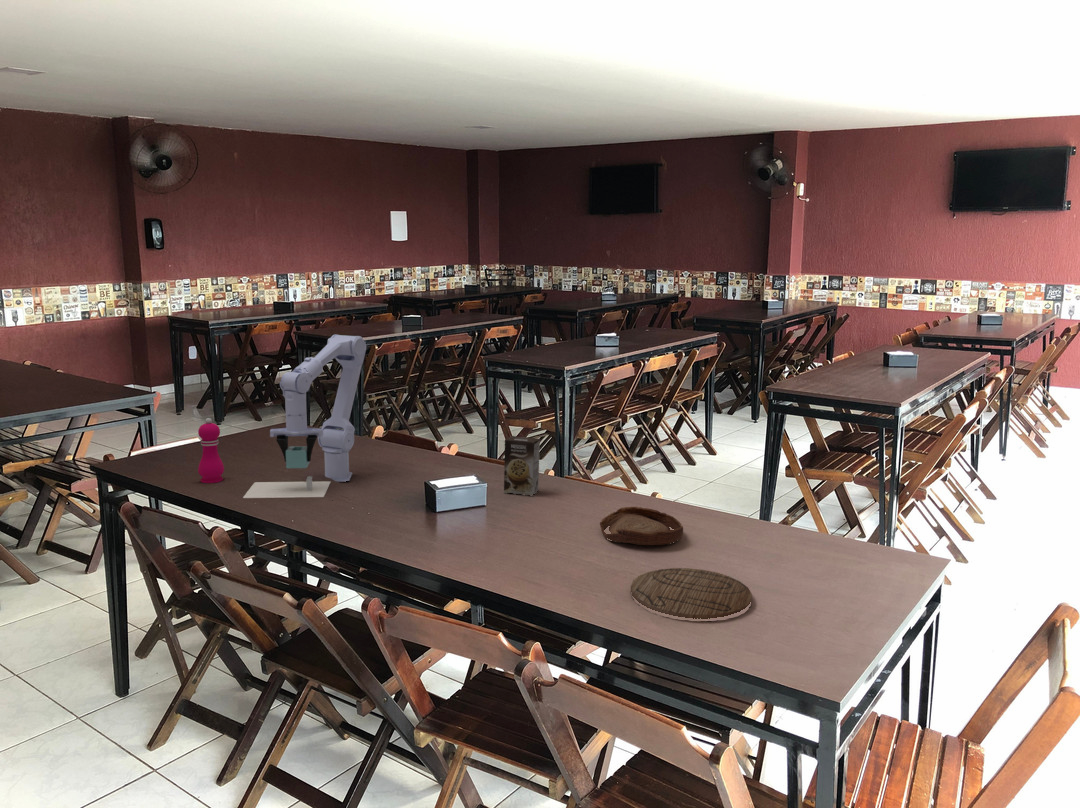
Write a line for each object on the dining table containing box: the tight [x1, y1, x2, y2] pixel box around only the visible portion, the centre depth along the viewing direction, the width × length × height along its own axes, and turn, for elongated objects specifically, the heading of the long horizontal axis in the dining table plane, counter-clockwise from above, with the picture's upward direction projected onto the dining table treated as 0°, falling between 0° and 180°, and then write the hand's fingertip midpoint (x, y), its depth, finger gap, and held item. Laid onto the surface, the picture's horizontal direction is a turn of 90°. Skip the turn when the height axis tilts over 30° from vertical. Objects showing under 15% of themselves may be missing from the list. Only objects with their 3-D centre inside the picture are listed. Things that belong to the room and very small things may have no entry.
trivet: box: [630, 567, 753, 619], centre depth 186 cm, size 25×25×2 cm
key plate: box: [242, 475, 332, 499], centre depth 255 cm, size 16×22×5 cm
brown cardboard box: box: [503, 435, 541, 496], centre depth 259 cm, size 9×6×16 cm
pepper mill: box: [197, 417, 225, 484], centre depth 262 cm, size 7×7×20 cm
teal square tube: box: [285, 445, 310, 469], centre depth 254 cm, size 6×6×5 cm
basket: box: [599, 506, 684, 546], centre depth 224 cm, size 22×20×5 cm
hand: (297, 460), depth 254 cm, fingers closed on teal square tube, 6 cm apart
